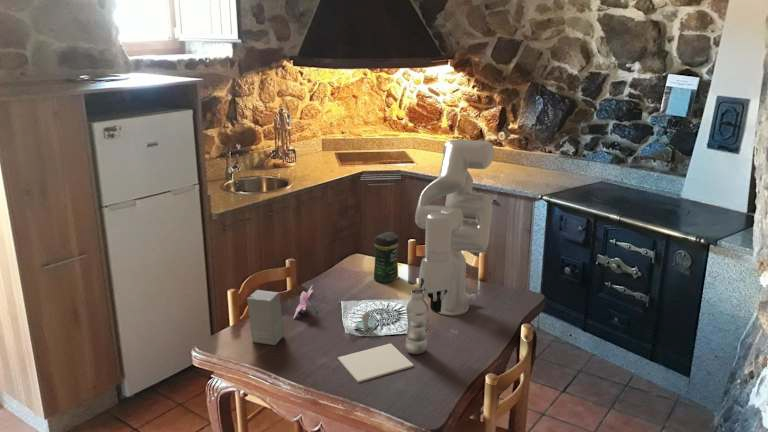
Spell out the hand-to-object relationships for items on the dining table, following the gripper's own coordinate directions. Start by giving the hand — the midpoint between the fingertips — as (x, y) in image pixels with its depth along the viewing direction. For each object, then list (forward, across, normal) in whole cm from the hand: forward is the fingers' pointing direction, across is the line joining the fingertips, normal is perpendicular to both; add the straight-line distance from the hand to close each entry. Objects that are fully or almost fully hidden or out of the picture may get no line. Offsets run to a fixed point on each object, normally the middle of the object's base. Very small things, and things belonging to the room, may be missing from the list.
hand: (435, 310), depth 186 cm
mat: (+12, +20, 0) cm, 24 cm away
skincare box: (+13, +44, -29) cm, 54 cm away
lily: (+12, +27, -40) cm, 50 cm away
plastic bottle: (+13, +6, 0) cm, 14 cm away
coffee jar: (+12, -12, -53) cm, 56 cm away
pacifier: (+13, +14, -22) cm, 29 cm away
